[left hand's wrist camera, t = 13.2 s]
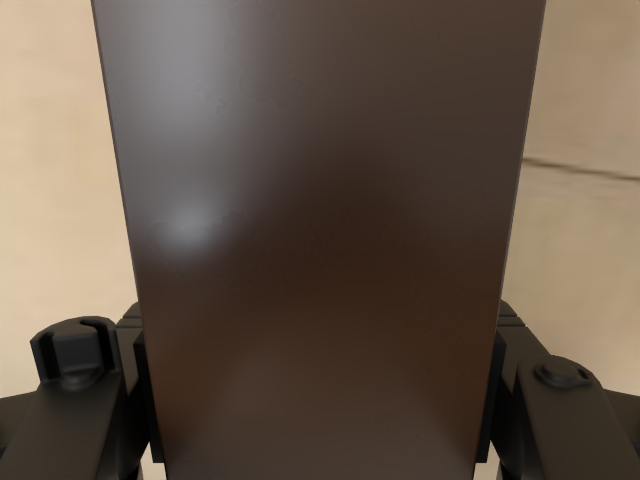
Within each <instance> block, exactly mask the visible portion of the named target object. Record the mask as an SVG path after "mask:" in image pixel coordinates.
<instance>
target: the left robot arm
mask: <svg viewBox="0 0 640 480" xmlns="http://www.w3.org/2000/svg"><path fill="white" fill-rule="evenodd" d="M30 344H31V348H32V352H33V355H34V359H35V363H36V367H37V370H38V374H39V378H40V382H41V383H40V385H39V386H38V388H37V390H36V391H34V392H30V393H25V394H20V395H15V396H10V397H5V398H0V480H143V473H142V467H141V461H140V460H141V458H142V456H143V454H144V451H145V449H146V447H147V445H148V443H149V442H150V448H151V454H152V459H153V463H164V460H163V454H162V447H161V441H160V435H159V428H158V422H157V416H156V409H155V403H154V397H153V390H152V384H151V378H150V372H149V365H148V359H147V353H146V346H145V340H144V334H143V327H142V321H141V315H140V309H139V302H136V303H135V304H133V305H132V306H131V307H130V308H129V309H128V311H127V312H126V313H125V314H124V316H123V319H120V320H119V322H118V323H117V324H116V325H115V323H114V322H113V321H111V320H110V319H109V318H104V317H100V316H83V317H77V318H72V319H67V320H64V321H62V322H59V323H56V324H53V325H51V326H49V327H47V328H46V329H44V330H42V331H40V332H39V333H37V334H36V335H35V336H34V337H33V338H32V339H31V340H30ZM490 440H491V441H492V443H493V446H494V448H495V450H496V452H497V454H498V456H499V458H500V461H499V467H498V472H497V477H496V480H640V396H635V395H630V394H625V393H620V392H615V391H610V390H606V389H603V388H602V386H601V384H600V382H599V381H598V379H597V378H596V377H595V376H594V375H593V373H592V372H590V371H589V370H587V369H586V368H584V367H583V366H581V365H580V364H578V363H576V362H573V361H571V360H569V359H566V358H563V357H559V356H555V355H550V354H549V352H548V351H547V350H546V349H545V348H544V346H543V345H542V344H541V343H540V342H539V340H538V339H537V338H536V337H535V336H534V334H533V333H532V332H531V331H530V330H529V328H528V327H525V324H524V322H523V321H522V320H521V319H520V318H519V317H517V314H516V313H515V312H514V310H513V309H512V308H511V307H510V306H509V304H508V303H506V302H505V301H503V300H500V307H499V314H498V320H497V327H496V333H495V340H494V346H493V353H492V359H491V366H490V373H489V379H488V386H487V392H486V399H485V405H484V412H483V419H482V425H481V432H480V438H479V445H478V451H477V458H476V463H487V457H488V452H489V446H490Z"/></svg>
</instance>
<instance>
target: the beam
mask: <svg viewBox="0 0 640 480" xmlns="http://www.w3.org/2000/svg"><path fill="white" fill-rule="evenodd" d="M545 5H546V0H91V6H92V12H93V18H94V25H95V31H96V37H97V44H98V50H99V56H100V63H101V69H102V75H103V81H104V88H105V94H106V100H107V107H108V113H109V119H110V126H111V132H112V138H113V145H114V151H115V157H116V163H117V170H118V176H119V182H120V189H121V195H122V201H123V208H124V214H125V220H126V227H127V233H128V239H129V245H130V252H131V258H132V264H133V271H134V277H135V283H136V290H137V296H138V302H139V309H140V315H141V321H142V327H143V334H144V340H145V346H146V353H147V359H148V365H149V372H150V378H151V384H152V390H153V397H154V403H155V409H156V416H157V422H158V428H159V435H160V441H161V447H162V454H163V460H164V466H165V472H166V479H167V480H473V478H474V471H475V465H476V458H477V451H478V445H479V438H480V432H481V425H482V419H483V412H484V405H485V399H486V392H487V386H488V379H489V373H490V366H491V359H492V353H493V346H494V340H495V333H496V327H497V320H498V314H499V307H500V300H501V294H502V287H503V281H504V274H505V268H506V261H507V254H508V248H509V241H510V235H511V228H512V222H513V215H514V208H515V202H516V195H517V189H518V182H519V176H520V169H521V163H522V156H523V149H524V143H525V136H526V130H527V123H528V117H529V110H530V103H531V97H532V90H533V84H534V77H535V71H536V64H537V57H538V51H539V44H540V38H541V31H542V25H543V18H544V11H545Z"/></svg>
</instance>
